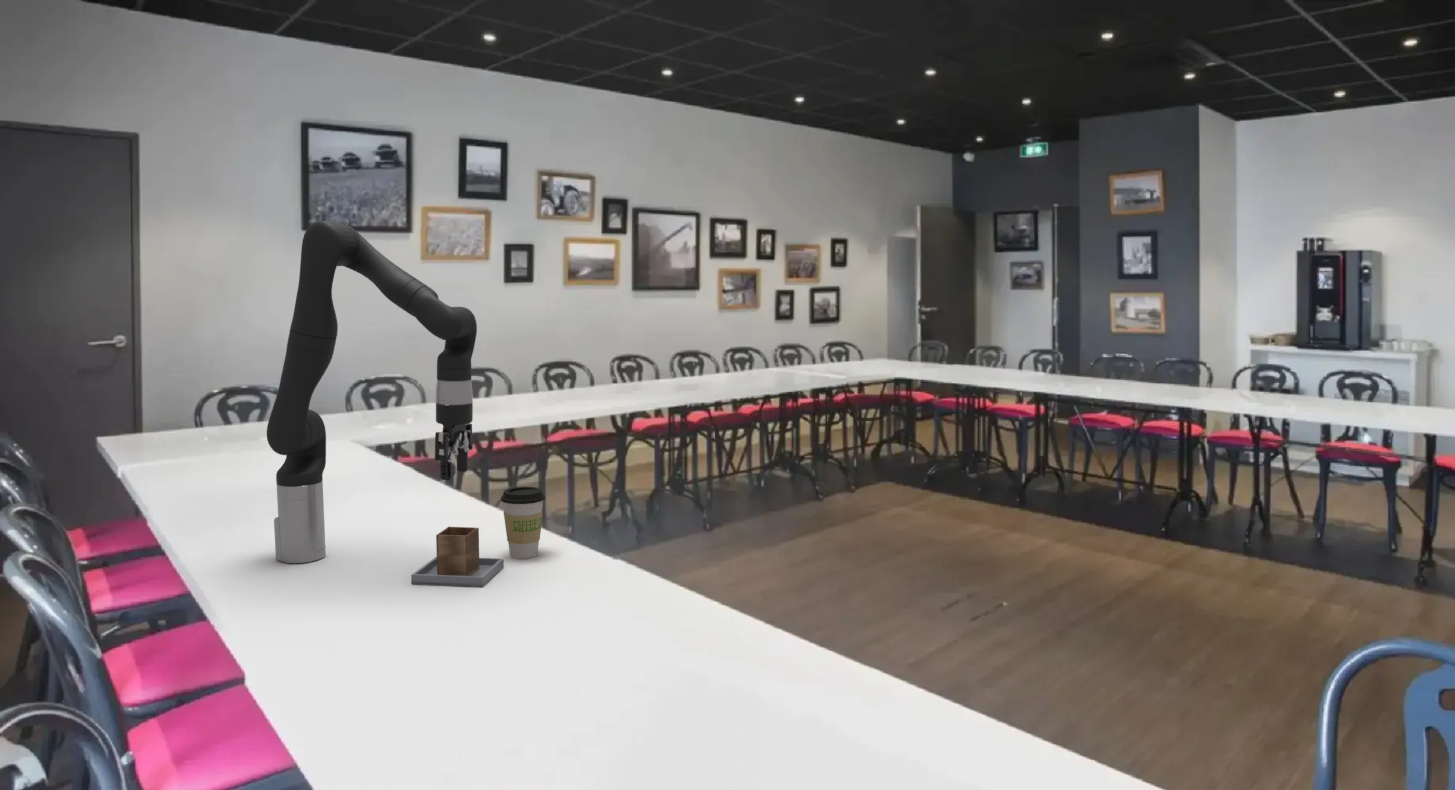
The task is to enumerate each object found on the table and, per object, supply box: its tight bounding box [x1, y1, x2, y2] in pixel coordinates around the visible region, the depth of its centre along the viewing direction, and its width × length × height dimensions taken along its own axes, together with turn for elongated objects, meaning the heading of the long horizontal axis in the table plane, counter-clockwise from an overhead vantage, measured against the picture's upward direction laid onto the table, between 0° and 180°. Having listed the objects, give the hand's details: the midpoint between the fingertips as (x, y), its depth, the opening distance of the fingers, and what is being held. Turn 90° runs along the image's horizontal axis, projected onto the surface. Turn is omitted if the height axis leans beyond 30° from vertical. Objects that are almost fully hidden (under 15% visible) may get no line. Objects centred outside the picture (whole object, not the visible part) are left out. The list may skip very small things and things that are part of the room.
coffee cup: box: [500, 486, 546, 560], centre depth 201 cm, size 10×10×15 cm
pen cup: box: [435, 526, 480, 576], centre depth 186 cm, size 7×7×9 cm
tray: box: [410, 555, 505, 588], centre depth 186 cm, size 15×13×2 cm
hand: (454, 475), depth 190 cm, fingers open, 8 cm apart
